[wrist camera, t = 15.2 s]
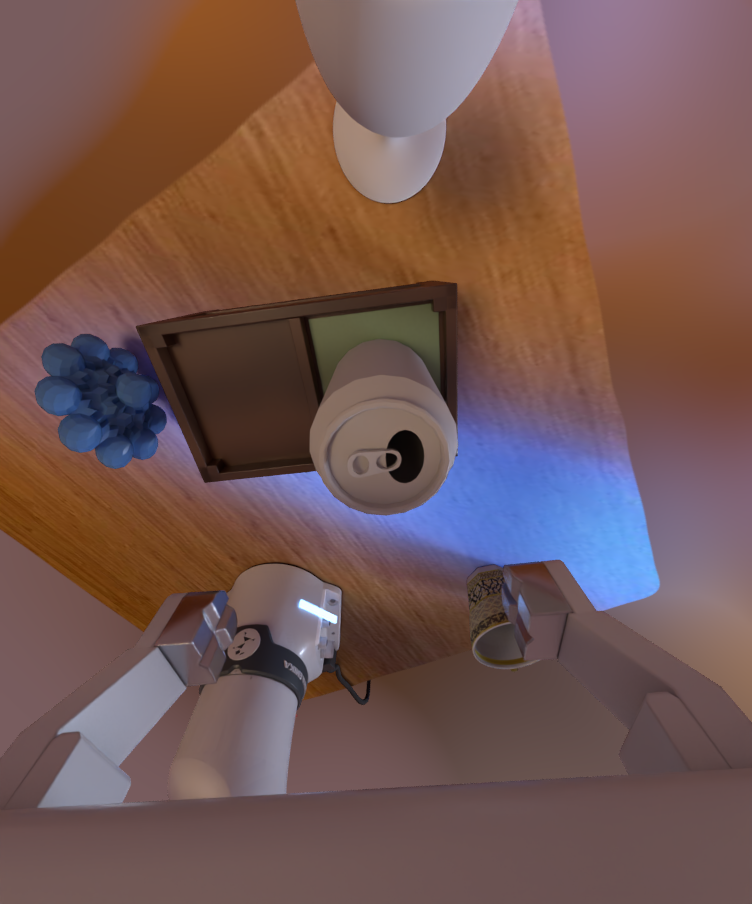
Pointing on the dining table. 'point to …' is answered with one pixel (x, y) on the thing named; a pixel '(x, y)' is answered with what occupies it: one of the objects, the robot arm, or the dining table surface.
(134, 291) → the dining table surface
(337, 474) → the can
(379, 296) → the tray
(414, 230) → the dining table surface
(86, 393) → the grapes
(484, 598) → the ceramic cup
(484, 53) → the wineglass
